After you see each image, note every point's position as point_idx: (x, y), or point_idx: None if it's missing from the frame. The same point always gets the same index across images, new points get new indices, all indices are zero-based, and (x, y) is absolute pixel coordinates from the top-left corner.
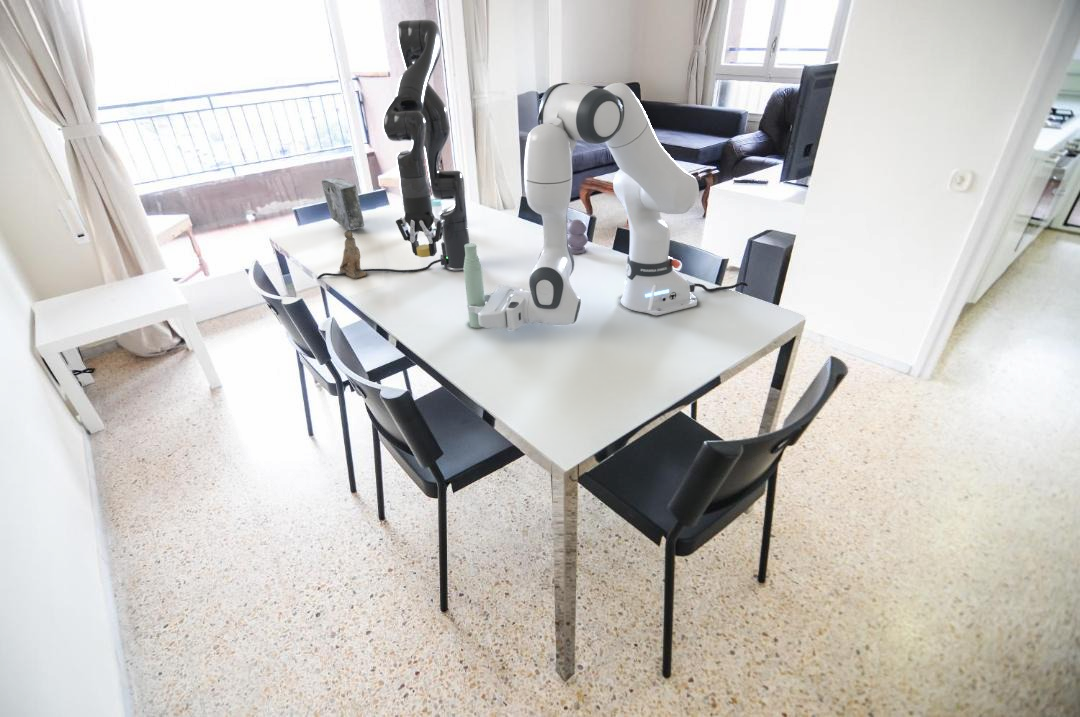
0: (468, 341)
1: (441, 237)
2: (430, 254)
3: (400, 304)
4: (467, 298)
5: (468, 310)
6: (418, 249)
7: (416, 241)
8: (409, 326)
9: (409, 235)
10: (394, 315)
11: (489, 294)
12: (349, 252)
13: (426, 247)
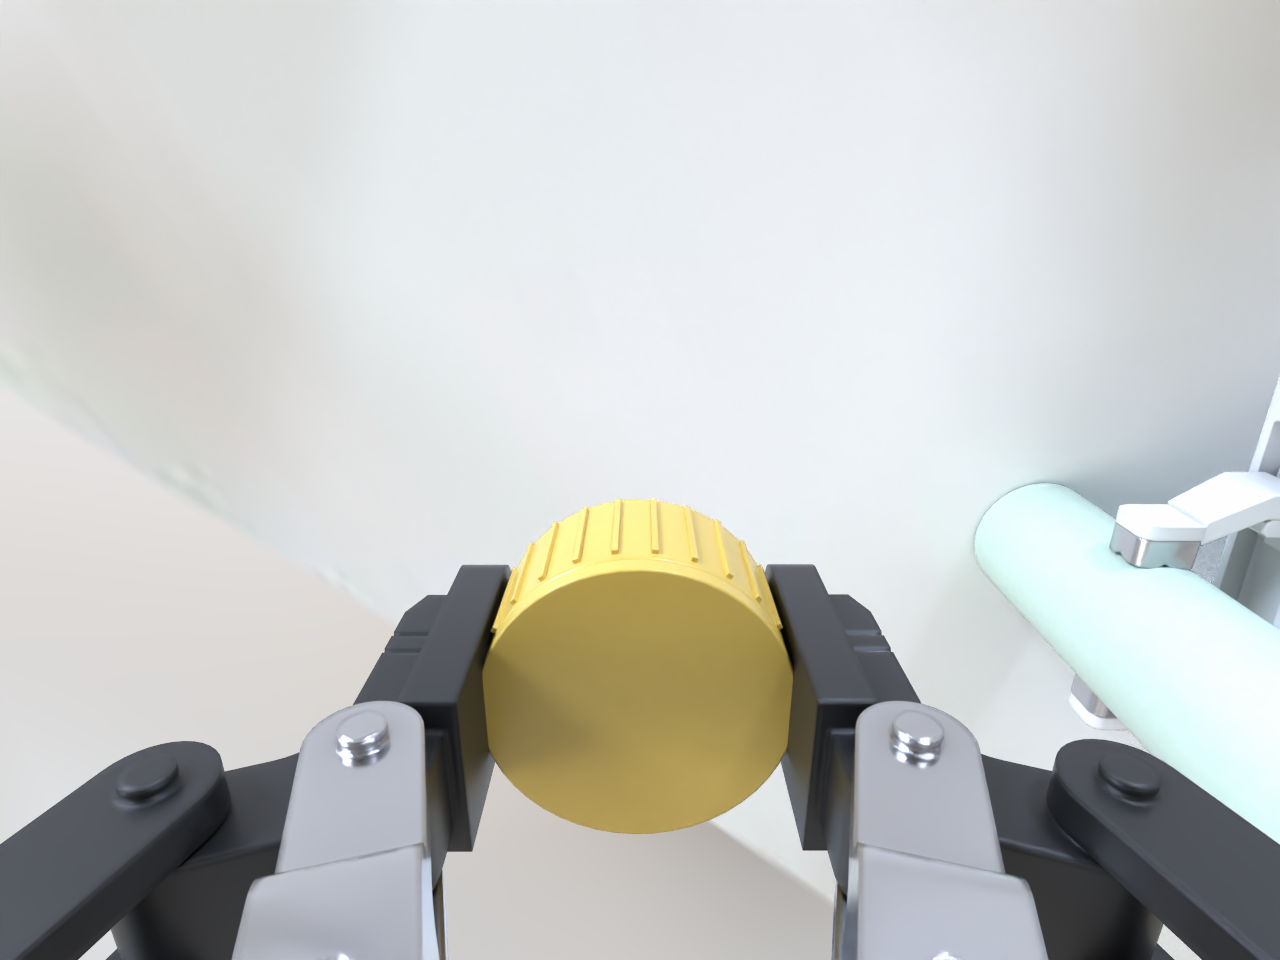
0: (1000, 729)
1: (1182, 800)
2: None
3: (307, 309)
4: (1103, 702)
5: (1037, 630)
6: (581, 820)
7: (446, 768)
8: None
9: (206, 896)
10: (377, 495)
11: (1270, 514)
12: None
13: (710, 744)
